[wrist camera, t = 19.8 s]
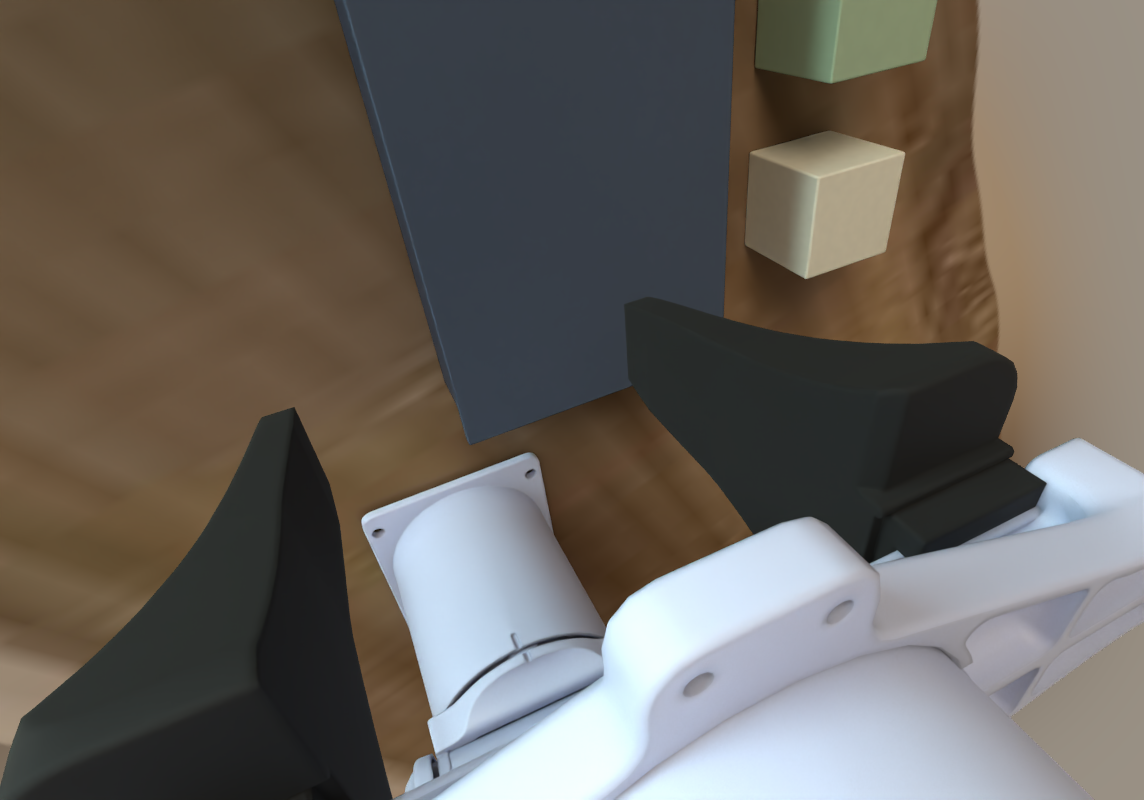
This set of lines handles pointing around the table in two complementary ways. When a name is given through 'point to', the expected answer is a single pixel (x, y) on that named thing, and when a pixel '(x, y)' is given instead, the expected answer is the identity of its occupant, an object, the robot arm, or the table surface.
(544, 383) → the storage box
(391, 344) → the table surface
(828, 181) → the cream box
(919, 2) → the sage box
